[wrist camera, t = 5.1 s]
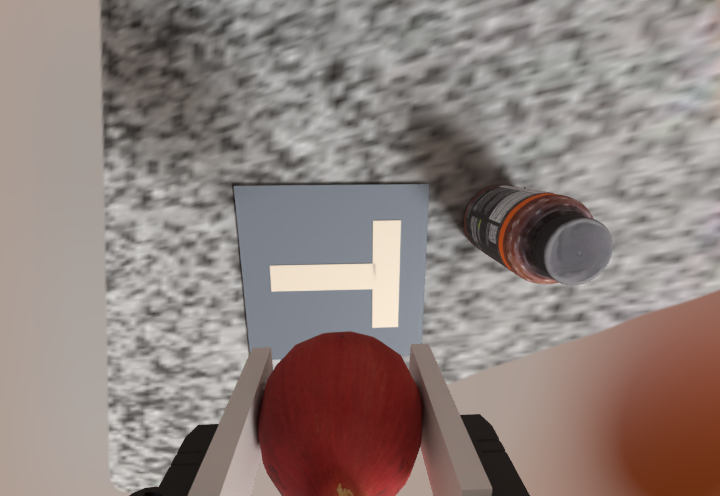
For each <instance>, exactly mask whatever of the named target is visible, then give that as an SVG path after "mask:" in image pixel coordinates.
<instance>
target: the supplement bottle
mask: <svg viewBox="0 0 720 496" xmlns="http://www.w3.org/2000/svg"><path fill="white" fill-rule="evenodd" d="M464 229H465V233H466V235H467V237H468V239H469V240H470V242H471V243H472V244H473V245H474V246H475V247H477V248H478V249H480V250H481V251H482V252H484V253H485V254H487V255H488V256H490V257H491V258H493V259H494V260H496V261H497V262H499V263H500V264H502V265H503V266H505V267H506V268H508V269H509V270H510V271H512V272H514V273H515V274H516V275H518V276H519V277H521V278H523V279H525V280H527V281H530V282H533V283H538V284H554V283H558V282H559V283H562V284H566V285H579V284H583V283H586V282H588V281H590V280H592V279H594V278H595V277H597V276H598V275H599V274H600V273H601V272H602V271H603V270H604V268H605V267H606V266H607V264H608V263H609V260H610V258H611V255H612V249H613V243H612V237H611V235H610V233H609V231H608V229H607V228H606V227H605V226H604V225H603V224H602V223H600V222H599V221H597V220H595V219H593V216H592V215H591V213H590V211H589V210H588V209H587V208H586V207H585V206H584V205H583V204H582V203H581V202H579V201H577V200H575V199H572V198H570V197H567V196H563V195H558V194H553V193H549V192H543V191H537V190H531V189H526V188H525V187H524V188H520V187H514V186H505V185H498V186H491V187H488V188H486V189H484V190H482V191H481V192H479V193H478V194H477V195H476V196H475V197H474V198H473V199H472V200H471V201H470V203H469V205H468V206H467V209H466V212H465V215H464Z"/></svg>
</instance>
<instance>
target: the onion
mask: <svg viewBox="0 0 720 496" xmlns="http://www.w3.org/2000/svg"><path fill="white" fill-rule="evenodd" d="M258 432H259V441H260V449H261V454H262V460H263V464H264V466H265V469H266V471H267V474H268V475H269V477H270V478H271V480H272V482H273V483H274V485H275V486H276V488H277V489H278V491H279V492H280V493H281V495H282V496H395V495H396V494H397V493H398V492H399V491H400V489H401V488H402V487H403V486H404V485H405V483H406V482H407V480H408V478H409V476H410V474H411V471H412V468H413V466H414V463H415V460H416V457H417V454H418V451H419V448H420V445H421V440H422V401H421V395H420V390H419V388H418V386H417V384H416V382H415V381H414V379H413V377H412V376H411V374H410V372H409V370H408V368H407V366H406V365H405V363H404V361H403V359H402V357H401V355H400V354H398V353H397V352H395V351H394V350H393V349H391V348H390V347H388V346H387V345H385V344H384V343H383V342H381V341H380V340H378V339H376V338H375V337H372V336H368V335H364V334H360V333H356V332H352V331H347V332H331V333H323V334H320V335H318V336H315V337H313V338H310V339H308V340H306V341H303V342H301V343H299V344H296V345H295V346H294V347H293V348H292V349H291V350H290V351H289V352H288V353H287V355H286V356H285V357H284V358H283V359H282V360H281V361H280V362H279V363H278V364H277V366H276V367H275V369H274V370H273V372H272V373H271V375H270V376H269V378H268V380H267V383H266V387H265V390H264V394H263V397H262V400H261V405H260V410H259V416H258Z"/></svg>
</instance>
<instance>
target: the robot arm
mask: <svg viewBox="0 0 720 496" xmlns="http://www.w3.org/2000/svg"><path fill="white" fill-rule="evenodd" d="M272 372H273V365H272V352H271V347H264V348H252V350H251V353H250V355H249V357H248V359H247V362H246V364H245V366H244V368H243V371H242V373H241V375H240V378H239V380H238V382H237V384H236V387H235V389H234V391H233V393H232V396H231V398H230V400H229V403H228V405H227V407H226V409H225V412H224V414H223V416H222V418H221V421H220V423H219V424H210V425H198V426H197V427H196V428H195V429H194V430H193V431H192V432H191V433H190V434H188V435H187V436H186V437H185V439H184V441H183V443H182V445H181V447H180V448H179V450H178V453H177V455H176V456H175V458H174V460H173V462H172V463H171V467H169V469H168V471H167V473H166V475H165V476H164V478H163V480H162V482H161V484H160V486H159V487H150V488H144V489H142V490H139V491H137V492H135V493H132V494H131V495H130V496H251V495H252V491H253V487H254V483H255V479H256V476H257V471H258V468H259V463H260V460H261V456H262V454H261V449H260V441H259V432H258V416H259V410H260V405H261V400H262V397H263V394H264V390H265V387H266V383H267V380H268V378H269V376H270V375H271V373H272ZM409 372H410V374H411V376H412V377H413V379H414V381H415V382H416V384H417V386H418V388H419V390H420V395H421V401H422V440H421V445H420V447H421V451H422V454H423V458H424V462H425V465H426V469H427V473H428V476H429V481H430V485H431V488H432V492H433V496H530V495H529V493H528V492H527V490H526V488H525V486H524V484H523V482H522V481H521V479H520V477H519V475H518V473H517V471H516V469H515V467H514V466H513V464H512V462H511V460H510V458H509V456H508V455H507V453H505V449H504V447H503V445H502V443H501V442H500V441H499V438H498V436H497V434H496V432H495V430H494V429H493V427H492V426H491V424H490V423H489V422H487V421H486V420H485V419H484V418H483V417H482V416H481V415H480V414H475V415H460V414H459V412H458V410H457V408H456V405H455V403H454V401H453V398H452V396H451V394H450V391H449V389H448V387H447V385H446V382H445V380H444V378H443V376H442V373H441V371H440V369H439V367H438V364H437V362H436V360H435V358H434V355H433V353H432V351H431V349H430V346H429V344H411V346H410V365H409Z"/></svg>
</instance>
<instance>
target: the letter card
mask: <svg viewBox="0 0 720 496" xmlns="http://www.w3.org/2000/svg"><path fill="white" fill-rule="evenodd" d="M234 195H235V205H236V215H237V226H238V236H239V246H240V257H241V267H242V277H243V287H244V298H245V308H246V318H247V329H248V339H249V349H250V353H251V350H252V348H264V347H271V352H272V359H283V358H284V357H285V356H286V355H287V353H288V352H289V351H290V350H291V349H292V348H293V347H294V346H295V345H296V344H299V343H301V342H303V341H306V340H308V339H310V338H313V337H315V336H318V335H320V334H323V333H331V332H347V331H352V332H356V333H360V334H364V335H368V336H372V337H375V338H376V339H378V340H380V341H381V342H383V343H384V344H385V345H387V346H388V347H390V348H391V349H393V350H394V351H395V352H397V353H398V354H400V355H410V346H411V344H422V327H423V306H424V285H425V264H426V243H427V223H428V202H429V184H360V185H240V186H234Z"/></svg>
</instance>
